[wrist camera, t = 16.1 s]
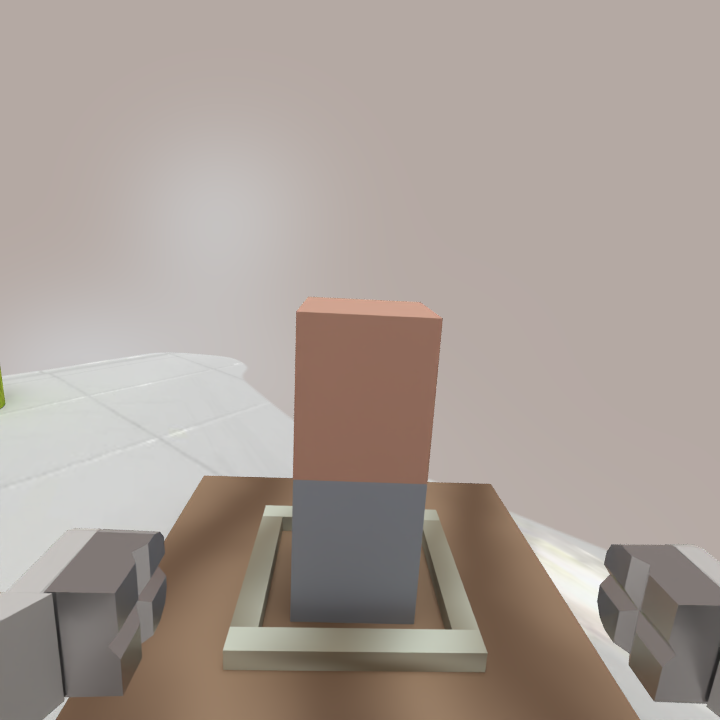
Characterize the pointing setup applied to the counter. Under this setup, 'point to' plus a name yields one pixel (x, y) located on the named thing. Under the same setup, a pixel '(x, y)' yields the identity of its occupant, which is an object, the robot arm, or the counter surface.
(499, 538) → the base plate
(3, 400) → the soap dispenser
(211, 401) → the counter surface
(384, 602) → the brick stack
